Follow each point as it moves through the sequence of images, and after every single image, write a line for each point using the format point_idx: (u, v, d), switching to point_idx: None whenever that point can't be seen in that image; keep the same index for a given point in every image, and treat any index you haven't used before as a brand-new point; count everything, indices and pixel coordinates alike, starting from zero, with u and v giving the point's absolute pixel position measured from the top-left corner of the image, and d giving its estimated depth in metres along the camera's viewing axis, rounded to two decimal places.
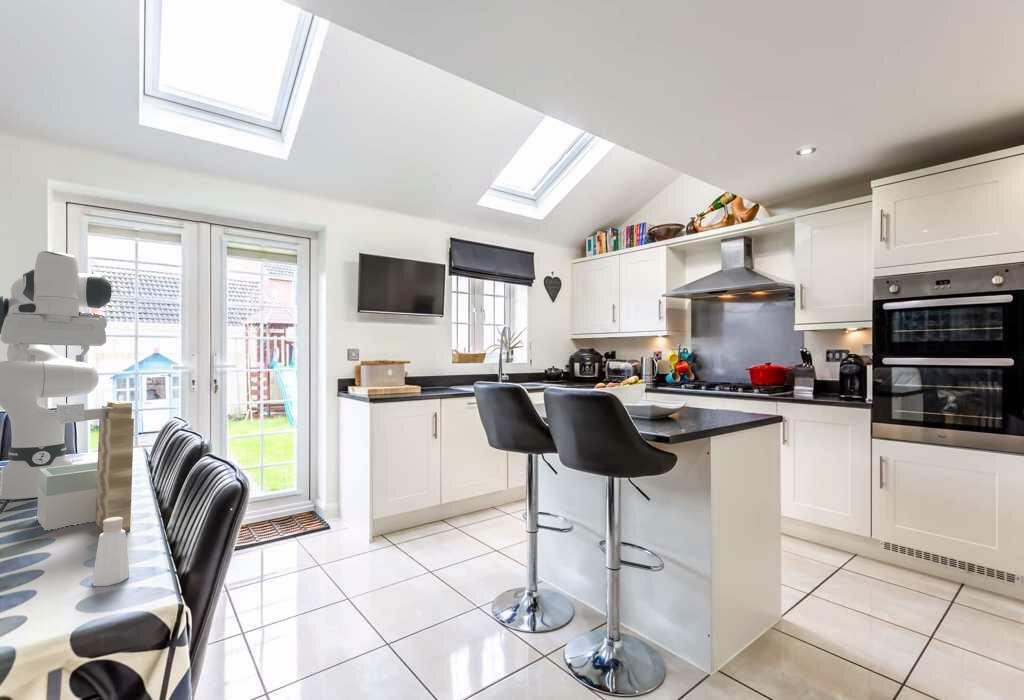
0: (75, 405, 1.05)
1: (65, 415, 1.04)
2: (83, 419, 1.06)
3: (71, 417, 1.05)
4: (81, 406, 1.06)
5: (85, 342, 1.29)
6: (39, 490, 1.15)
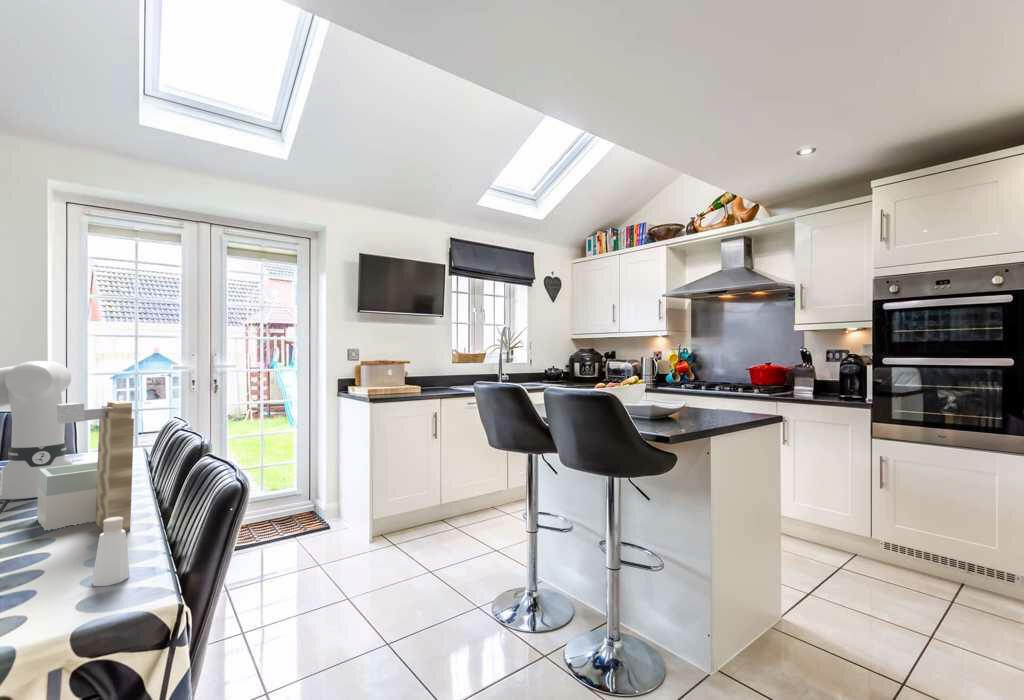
0: (75, 405, 1.05)
1: (65, 415, 1.04)
2: (83, 419, 1.06)
3: (71, 416, 1.05)
4: (81, 406, 1.06)
5: None
6: (39, 490, 1.15)
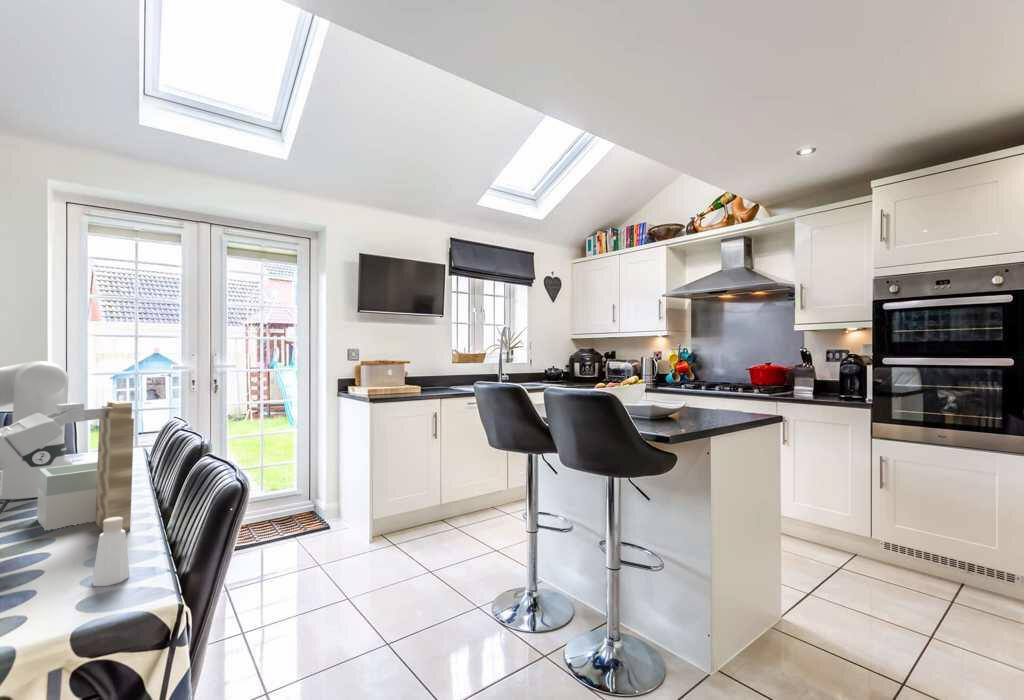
0: (75, 405, 1.05)
1: None
2: (83, 419, 1.06)
3: None
4: (81, 406, 1.06)
5: (38, 414, 1.06)
6: (39, 490, 1.15)
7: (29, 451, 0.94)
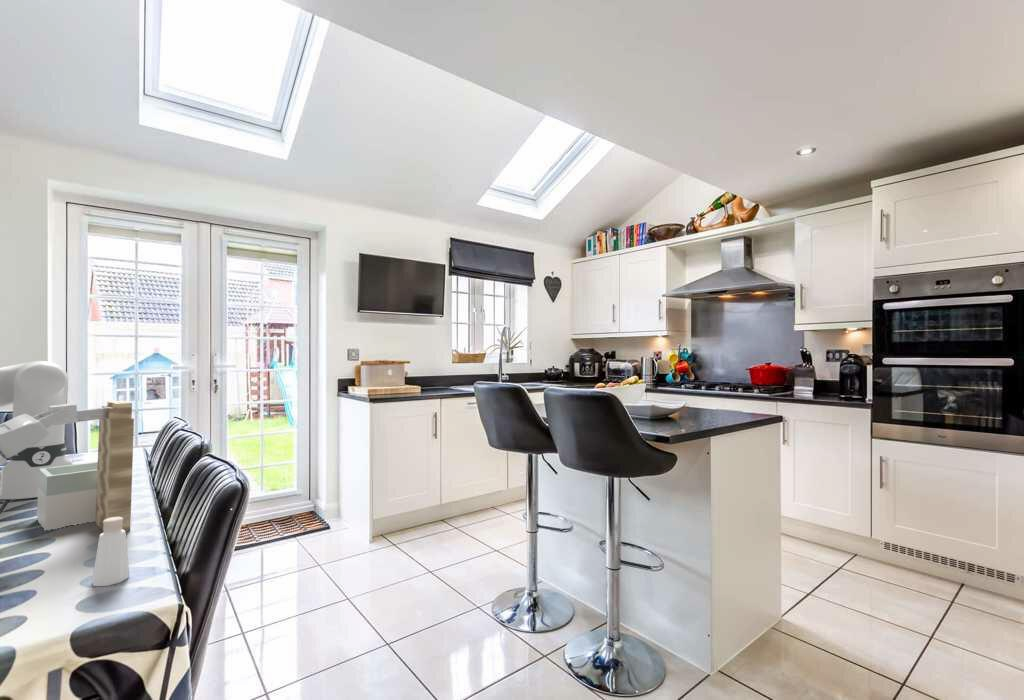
0: (67, 406, 1.04)
1: None
2: (76, 420, 1.05)
3: (64, 418, 1.03)
4: (73, 407, 1.05)
5: (25, 415, 1.04)
6: (39, 490, 1.15)
7: (14, 453, 0.92)
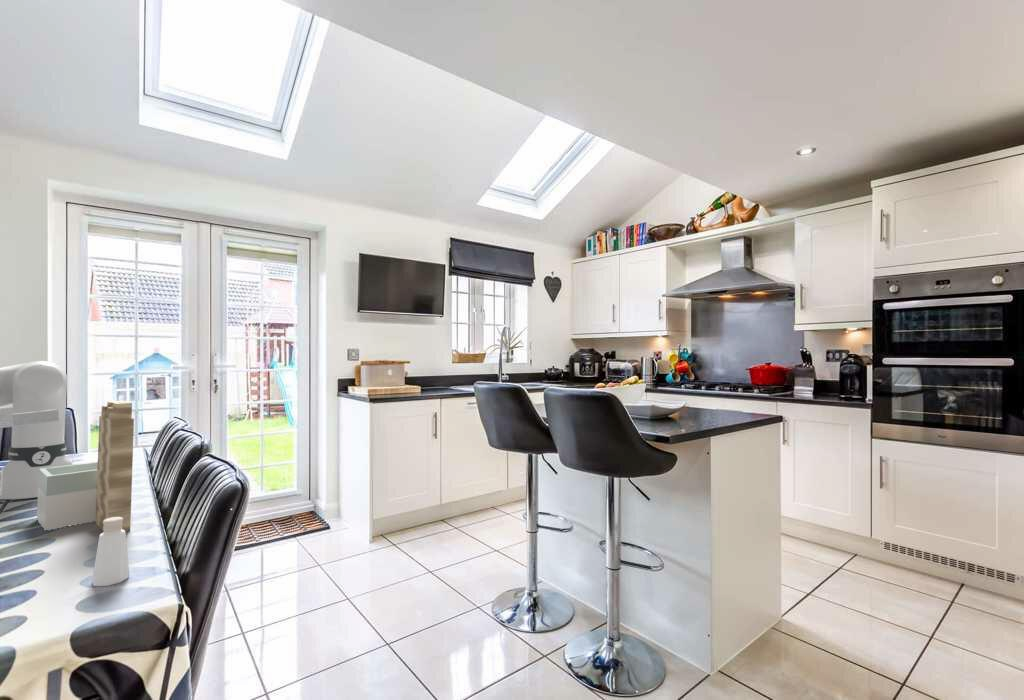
0: (1, 409, 0.96)
1: None
2: (11, 424, 0.97)
3: None
4: (9, 410, 0.97)
5: None
6: (39, 490, 1.15)
7: None
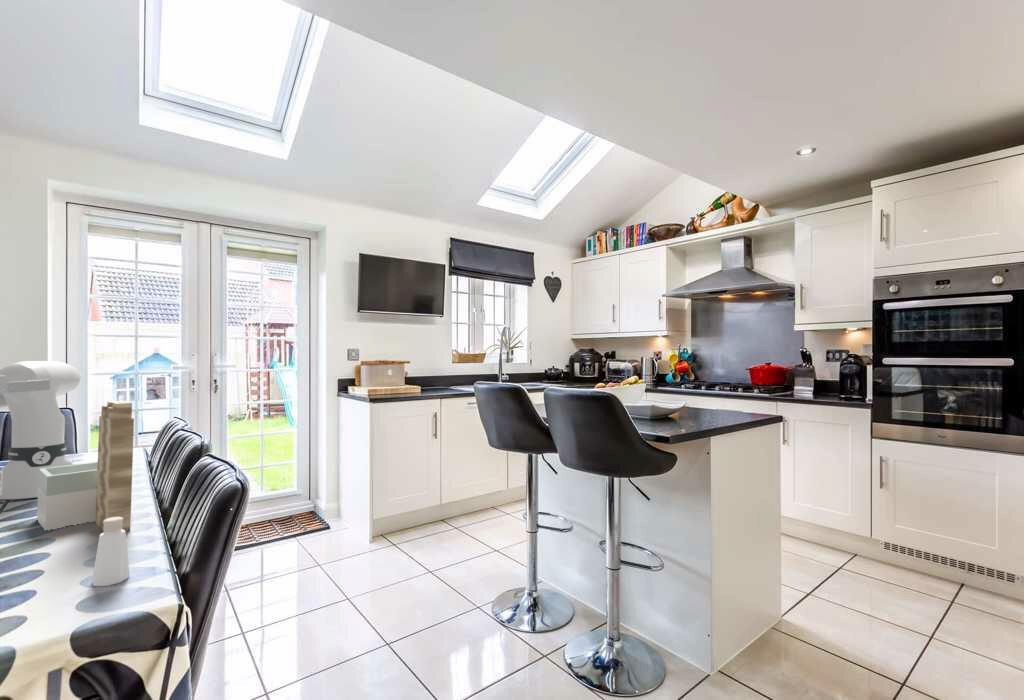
0: None
1: None
2: (6, 391, 1.06)
3: None
4: (4, 378, 1.06)
5: None
6: (39, 490, 1.15)
7: None
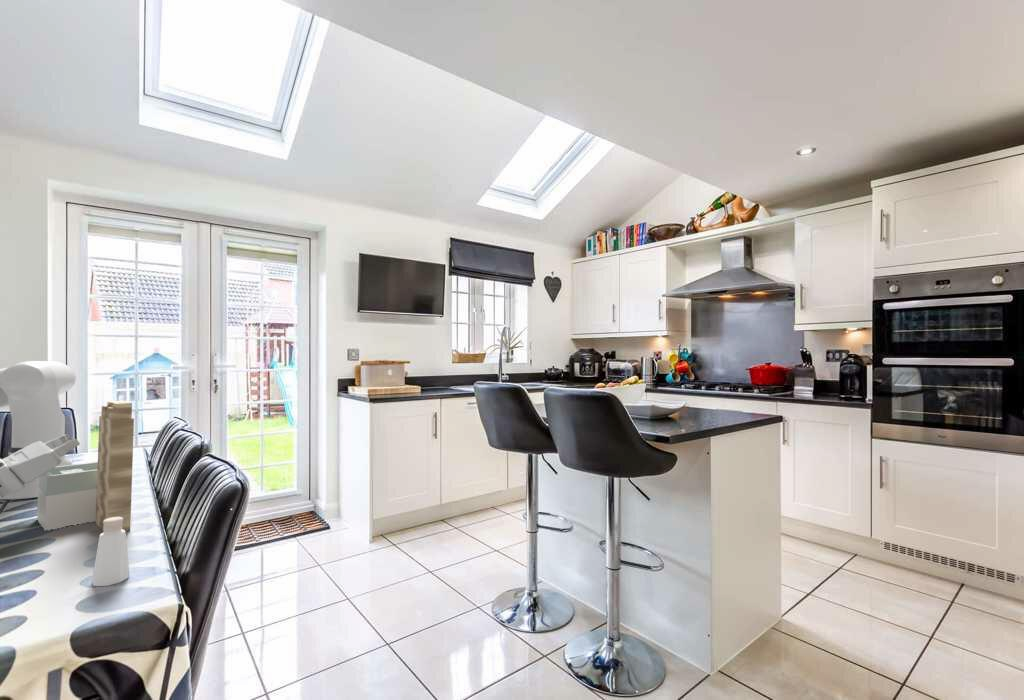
0: None
1: None
2: None
3: None
4: None
5: (39, 443, 1.16)
6: (39, 490, 1.15)
7: (31, 479, 1.04)
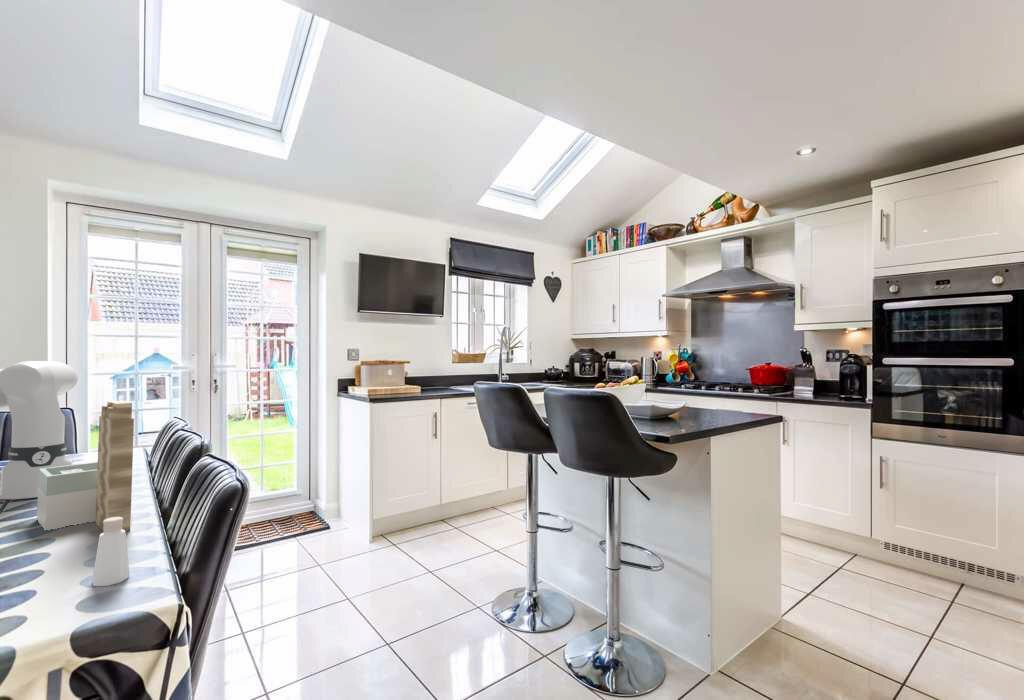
0: None
1: None
2: None
3: None
4: None
5: None
6: (39, 490, 1.15)
7: None
